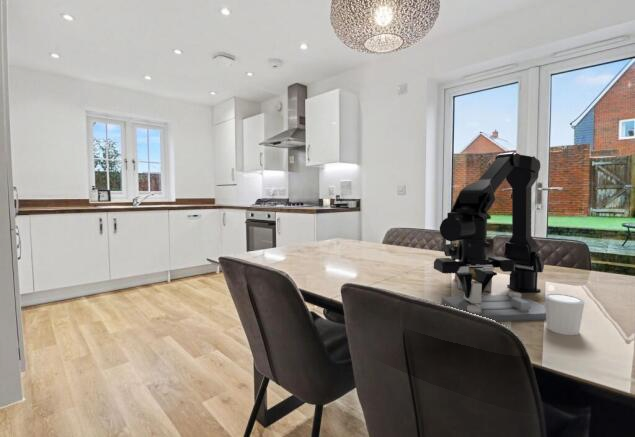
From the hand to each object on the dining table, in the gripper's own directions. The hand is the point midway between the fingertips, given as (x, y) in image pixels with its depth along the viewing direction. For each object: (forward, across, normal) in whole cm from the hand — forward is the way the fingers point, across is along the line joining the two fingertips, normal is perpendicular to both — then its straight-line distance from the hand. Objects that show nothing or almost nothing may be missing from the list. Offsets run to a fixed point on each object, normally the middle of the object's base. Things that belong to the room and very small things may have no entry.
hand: (472, 297), depth 85 cm
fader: (+1, 0, 0) cm, 1 cm away
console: (+3, -5, +2) cm, 6 cm away
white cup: (+3, -12, +15) cm, 19 cm away
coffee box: (+3, -10, -16) cm, 19 cm away
